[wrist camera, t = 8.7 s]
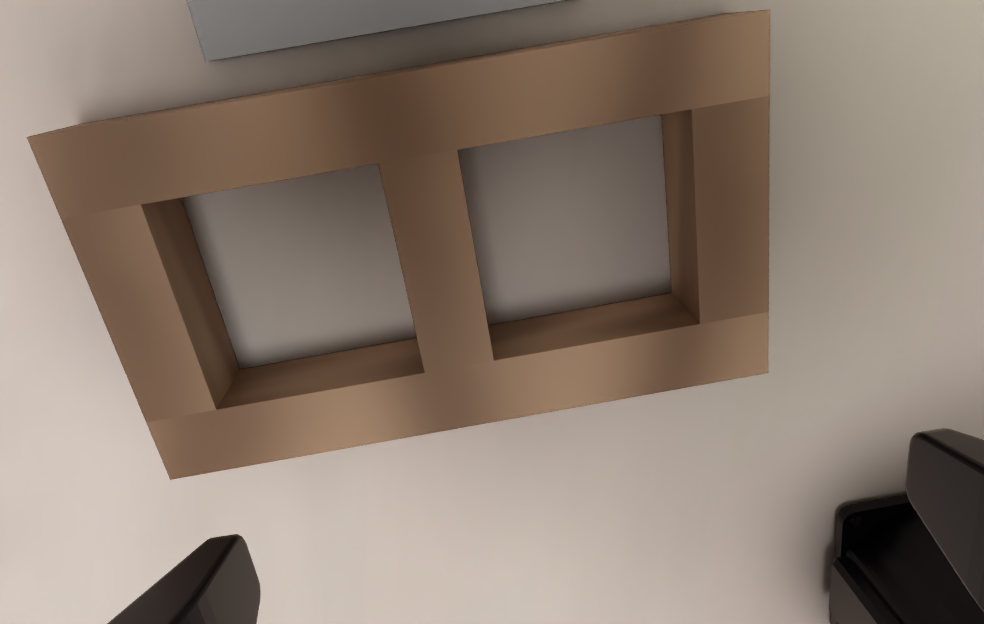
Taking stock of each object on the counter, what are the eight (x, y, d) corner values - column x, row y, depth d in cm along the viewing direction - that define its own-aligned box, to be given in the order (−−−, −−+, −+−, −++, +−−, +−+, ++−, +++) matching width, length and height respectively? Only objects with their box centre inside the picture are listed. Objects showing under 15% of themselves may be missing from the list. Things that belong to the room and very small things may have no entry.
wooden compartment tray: (727, 13, 18) (770, 10, 16) (733, 338, 22) (768, 373, 20) (78, 124, 18) (27, 137, 16) (197, 433, 22) (170, 479, 20)
